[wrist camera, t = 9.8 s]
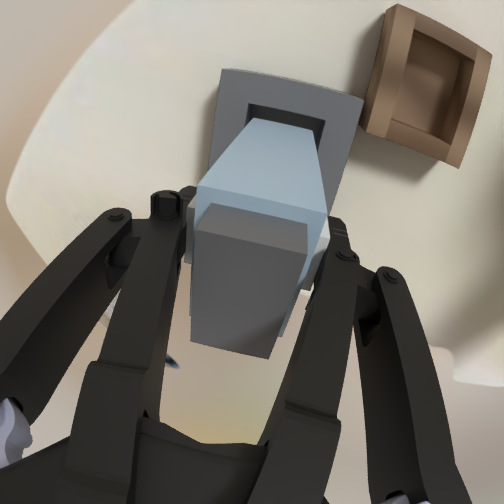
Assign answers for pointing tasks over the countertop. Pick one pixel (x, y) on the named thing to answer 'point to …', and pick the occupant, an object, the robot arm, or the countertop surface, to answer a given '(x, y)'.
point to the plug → (255, 237)
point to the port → (288, 117)
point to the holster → (425, 86)
